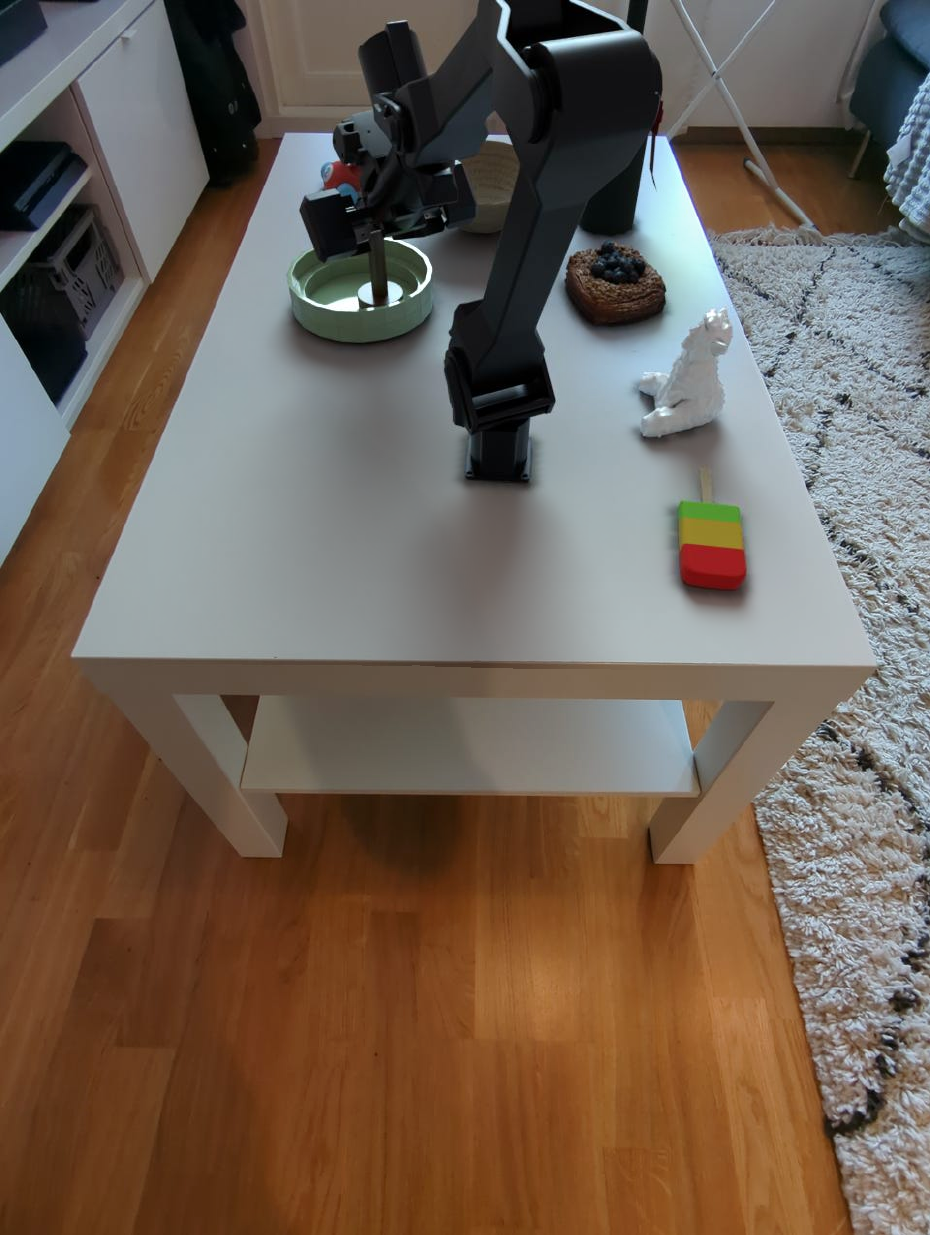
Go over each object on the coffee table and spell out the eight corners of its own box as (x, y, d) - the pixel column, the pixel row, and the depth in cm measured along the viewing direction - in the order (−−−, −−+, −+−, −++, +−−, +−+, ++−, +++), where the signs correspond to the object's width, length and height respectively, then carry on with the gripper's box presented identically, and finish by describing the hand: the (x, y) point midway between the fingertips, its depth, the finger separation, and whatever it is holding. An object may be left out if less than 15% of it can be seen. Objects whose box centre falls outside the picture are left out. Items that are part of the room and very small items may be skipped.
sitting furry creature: (636, 383, 84) (659, 280, 74) (715, 389, 83) (748, 286, 73) (639, 438, 78) (664, 335, 68) (723, 445, 77) (760, 342, 68)
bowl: (567, 246, 102) (573, 184, 95) (440, 272, 98) (438, 209, 91) (512, 188, 112) (515, 128, 105) (395, 209, 108) (391, 149, 101)
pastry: (631, 268, 98) (639, 223, 94) (674, 317, 92) (686, 270, 87) (554, 282, 96) (558, 236, 92) (592, 333, 89) (599, 286, 85)
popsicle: (679, 586, 66) (684, 573, 65) (674, 471, 75) (679, 457, 74) (743, 593, 66) (749, 580, 64) (730, 477, 75) (736, 463, 73)
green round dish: (425, 350, 87) (423, 314, 84) (280, 343, 88) (272, 308, 84) (439, 272, 98) (438, 238, 94) (309, 267, 98) (303, 233, 95)
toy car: (317, 185, 112) (306, 110, 104) (373, 175, 114) (366, 100, 106) (335, 212, 107) (324, 135, 99) (392, 201, 109) (387, 125, 101)
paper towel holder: (366, 318, 90) (352, 196, 79) (352, 294, 93) (337, 174, 82) (410, 308, 91) (402, 187, 80) (395, 285, 95) (386, 166, 83)
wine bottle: (654, 235, 103) (712, -49, 79) (581, 236, 103) (617, -48, 79) (644, 208, 108) (696, -68, 84) (574, 209, 108) (606, -67, 84)
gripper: (465, 72, 74) (418, 152, 89) (288, 108, 68) (269, 188, 83) (503, 188, 76) (451, 248, 91) (335, 232, 71) (308, 289, 85)
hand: (372, 241), depth 87 cm, fingers open, 5 cm apart
